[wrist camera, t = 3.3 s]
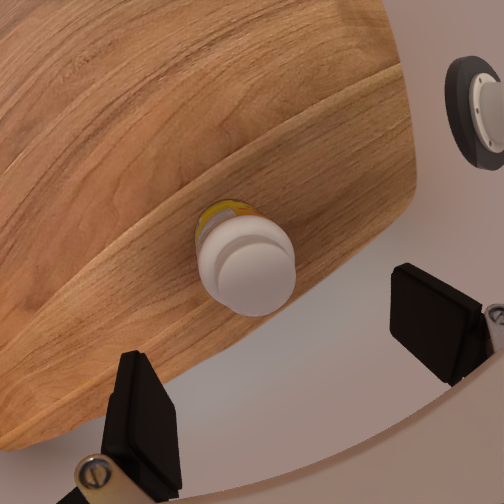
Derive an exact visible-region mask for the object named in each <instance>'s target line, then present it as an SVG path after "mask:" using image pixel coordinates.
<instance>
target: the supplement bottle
mask: <svg viewBox="0 0 504 504" xmlns="http://www.w3.org/2000/svg"><path fill="white" fill-rule="evenodd" d="M195 245H196V254H197V262H198V270H199V275H200V278H201V281H202V283H203V285H204V287H205V289H206V290H207V292H208V293H209V294H210V295H211V296H212V297H213V298H214V299H215V300H217V301H218V302H219V303H221V304H223V305H226V306H228V307H229V308H230V309H231V310H233V311H234V312H236V313H238V314H241V315H244V316H251V317H255V316H263V315H266V314H269V313H271V312H274V311H275V310H277V309H278V308H280V307H281V306H282V305H283V304H284V303H285V302H286V301H287V300H288V298H289V297H290V296H291V294H292V292H293V289H294V286H295V282H296V271H295V267H294V265H295V256H294V250H293V246H292V243H291V241H290V239H289V238H288V236H287V235H286V233H285V232H284V231H283V230H282V229H281V228H280V227H279V226H278V225H277V224H275V223H274V222H273V221H271V220H270V219H269V218H267V217H266V216H264V215H263V214H262V213H260V212H259V211H257V210H256V209H255V208H253V207H252V206H251V205H249V204H247V203H245V202H243V201H239V200H235V199H226V200H221V201H218V202H216V203H214V204H212V205H210V206H209V207H208V208H206V209H205V210H204V211H203V213H202V214H201V215H200V217H199V219H198V221H197V224H196V227H195Z"/></svg>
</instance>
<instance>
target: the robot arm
mask: <svg viewBox="0 0 504 504" xmlns="http://www.w3.org/2000/svg"><path fill="white" fill-rule="evenodd" d="M469 107H470V113H471V118H472V122H473V125H474V129H475V131H476V133H477V136H478V138H479V140H480V142H481V143H482V144H483V146H484V147H485V148H486V149H487V150H488V151H490V152H495V153H500V152H502V151H503V150H504V82H496V80H495V79H494V78H493V77H492V76H490V75H489V74H486V73H480V74H476V75H475V76H474V77H473V78H472V81H471V83H470V88H469ZM481 310H482V304H480V303H479V302H477V301H475V300H474V299H472V298H470V297H469V296H467V295H465V294H464V293H462V292H460V291H458V290H457V289H455V288H453V287H452V286H450V285H448V284H446V283H444V282H443V281H441V280H439V279H437V278H436V277H434V276H432V275H430V274H428V273H427V272H425V271H423V270H421V269H419V268H417V267H415V266H414V265H412V264H410V263H404V264H402V265H399V266H397V267H395V268H394V271H393V273H392V274H391V308H390V332H391V334H392V336H393V337H394V338H395V339H397V340H398V341H399V342H400V343H401V344H402V345H403V346H404V347H405V348H407V350H409V351H410V352H411V353H412V354H413V355H414V356H415V357H416V358H417V359H418V360H420V361H421V362H422V363H423V364H424V365H425V366H426V367H427V368H428V369H429V370H430V371H431V372H432V373H434V374H435V375H436V376H437V377H438V378H439V379H440V380H441V381H442V382H444V383H448V384H449V385H450V386H451V387H452V388H451V389H449V390H448V391H446V392H445V393H444V394H442V395H441V396H439V397H438V398H436V399H435V400H433V401H432V402H431V403H429V404H428V405H426V406H424V407H423V408H422V409H420V410H418V411H417V412H415V413H413V414H412V415H410V416H409V417H407V418H405V419H404V420H402V421H400V422H399V423H397V424H395V425H393V426H392V427H390V428H388V429H386V430H384V431H383V432H381V433H379V434H377V435H375V436H373V437H371V438H370V439H367V440H365V441H363V442H361V443H359V444H357V445H355V446H353V447H351V448H349V449H346V450H345V451H342V452H340V453H338V454H335V455H333V456H331V457H328V458H326V459H323V460H321V461H318V462H316V463H313V464H311V465H309V466H306V467H303V468H300V469H297V470H295V471H292V472H289V473H286V474H283V475H280V476H277V477H273V478H270V479H267V480H263V481H260V482H256V483H253V484H249V485H245V486H241V487H237V488H233V489H229V490H225V491H221V492H216V493H211V494H206V495H200V496H195V497H189V498H184V499H178V500H173V501H169V499H174V498H179V494H178V490H180V489H182V478H181V469H180V460H179V448H178V437H177V423H176V411H175V407H174V404H173V403H172V401H171V399H170V398H169V396H168V395H167V392H166V391H165V389H164V388H163V386H162V384H161V382H160V380H159V378H158V377H157V375H156V373H155V371H154V369H153V368H152V366H151V364H150V362H149V360H148V358H147V356H146V355H145V353H140V352H139V351H138V350H135V351H130V352H126V353H123V354H122V355H121V358H120V363H119V367H118V372H117V377H116V382H115V387H114V392H113V393H112V394H111V395H110V398H109V403H108V408H107V414H106V420H105V426H104V432H103V439H102V446H101V454H93V455H89V456H87V457H85V458H84V459H83V460H82V461H80V463H79V464H78V465H77V467H76V469H75V473H74V478H75V482H76V484H77V487H75V488H74V489H73V490H72V491H71V492H70V493H68V494H67V495H66V496H65V497H64V498H63V499H61V500H60V501H59V502H58V503H56V504H504V304H492V305H490V306H488V307H487V308H486V310H485V313H484V314H483V313H481ZM462 377H464V379H462Z"/></svg>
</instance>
